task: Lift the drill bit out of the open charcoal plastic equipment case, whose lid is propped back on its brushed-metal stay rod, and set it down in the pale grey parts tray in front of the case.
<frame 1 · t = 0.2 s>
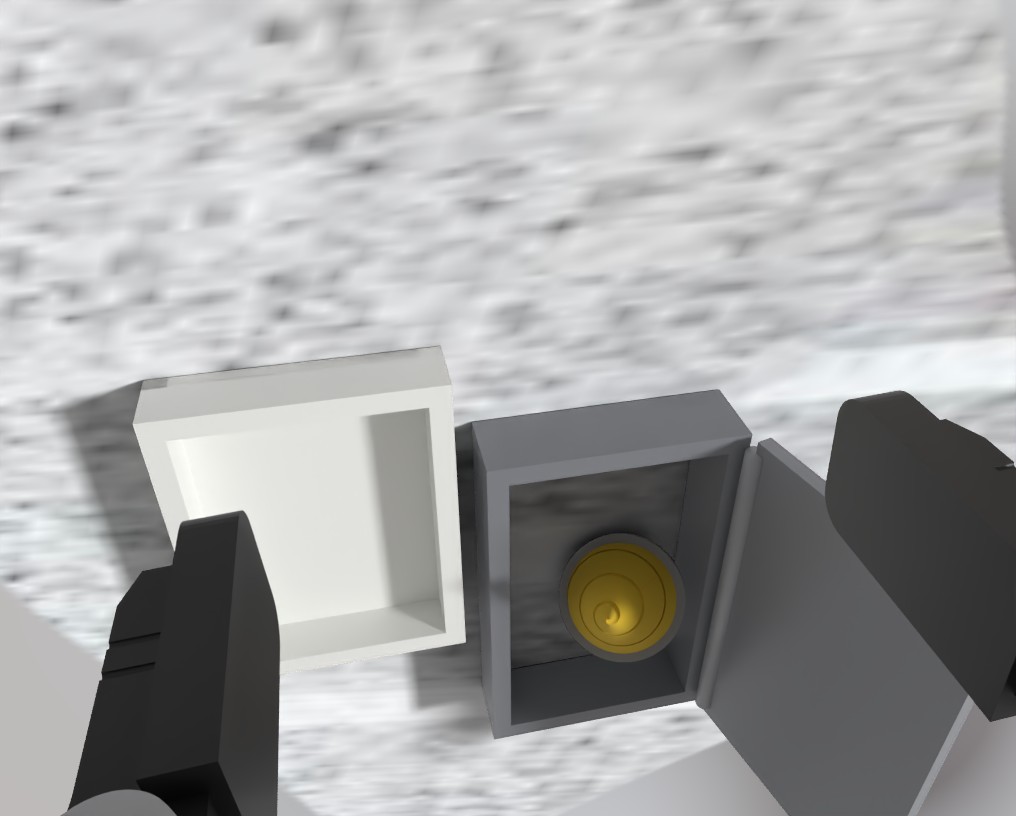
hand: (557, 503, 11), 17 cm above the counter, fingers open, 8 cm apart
drill bit: (587, 548, 38), on the counter
lid: (810, 677, 32), point 8 cm above the counter, hinge at 105.0°
tray: (321, 504, 33), on the counter
case: (588, 552, 38), on the counter
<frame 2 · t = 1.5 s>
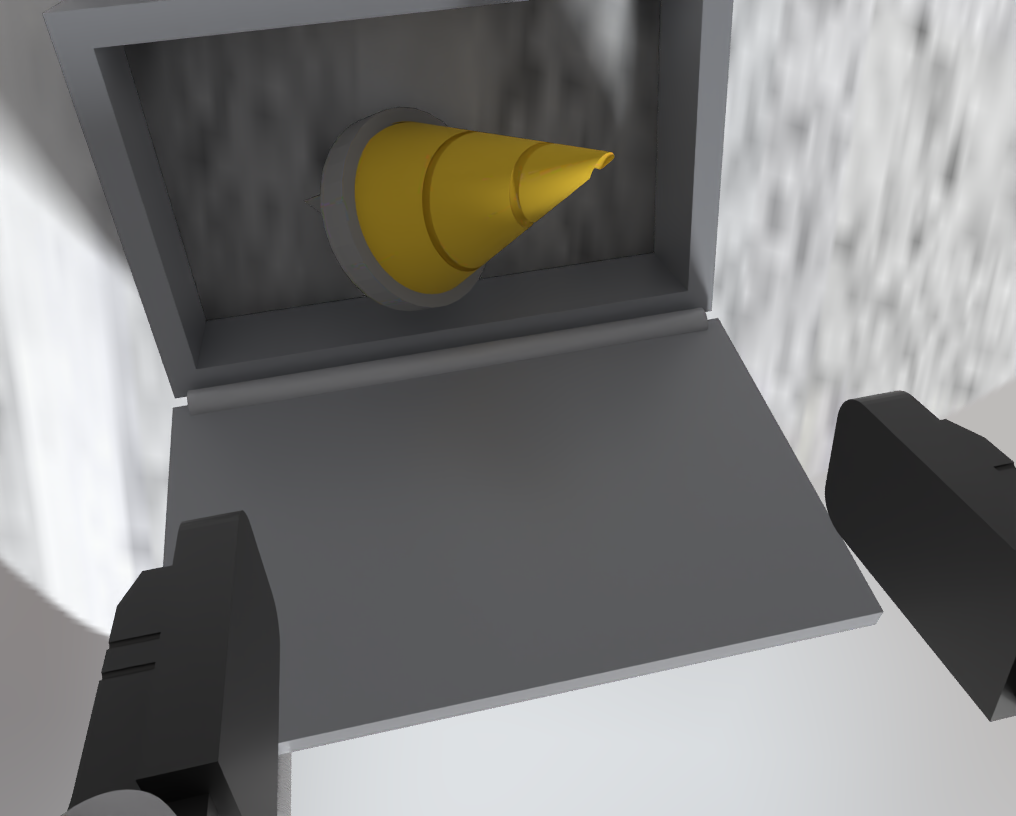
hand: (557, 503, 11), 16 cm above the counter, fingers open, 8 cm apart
stay rod: (279, 439, 29), on the counter
drill bit: (419, 152, 25), on the counter
lid: (489, 495, 22), point 8 cm above the counter, hinge at 105.0°
case: (420, 154, 25), on the counter
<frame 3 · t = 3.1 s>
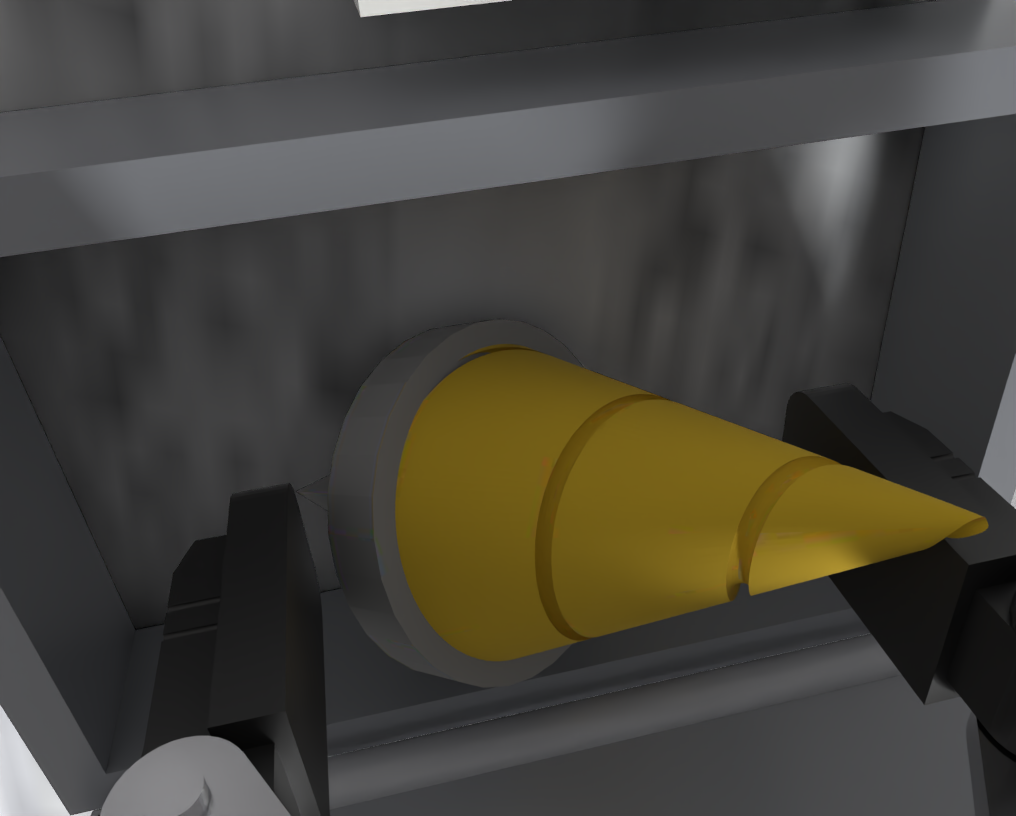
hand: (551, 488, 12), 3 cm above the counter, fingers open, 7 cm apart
drill bit: (496, 364, 14), on the counter, touching gripper
case: (499, 370, 14), on the counter
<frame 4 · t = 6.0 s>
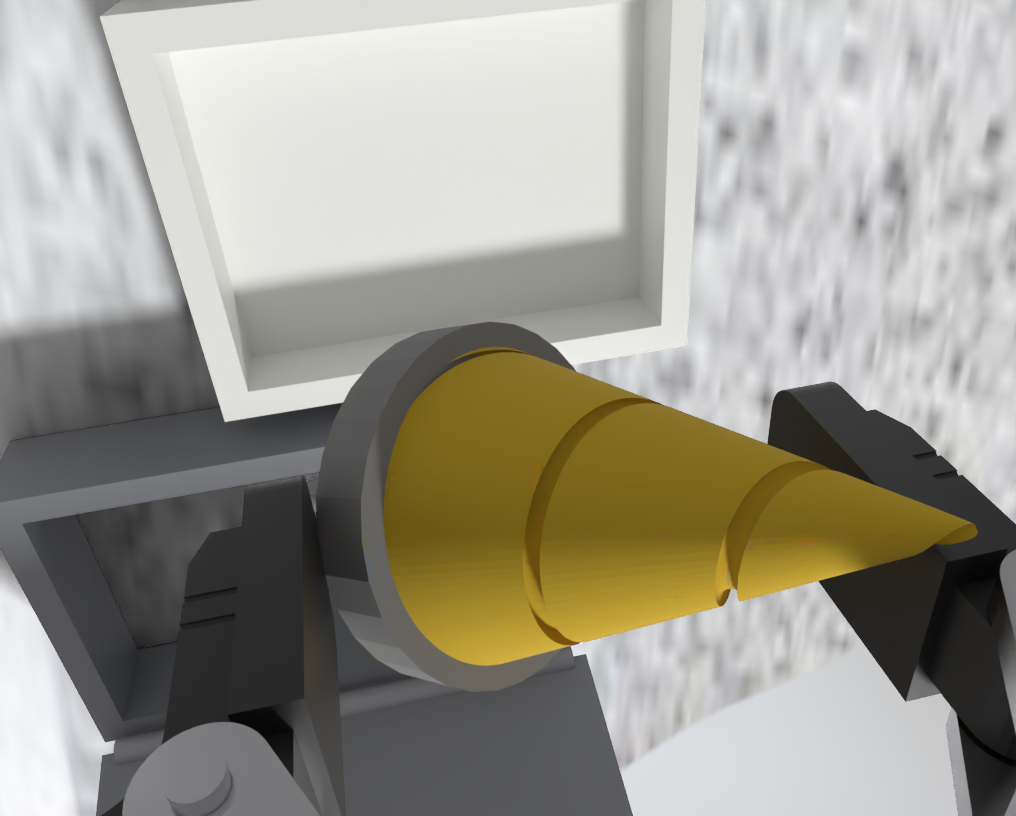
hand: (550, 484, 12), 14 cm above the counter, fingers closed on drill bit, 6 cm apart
drill bit: (488, 366, 14), point 10 cm above the counter, touching gripper
tray: (431, 177, 23), on the counter
case: (322, 521, 28), on the counter
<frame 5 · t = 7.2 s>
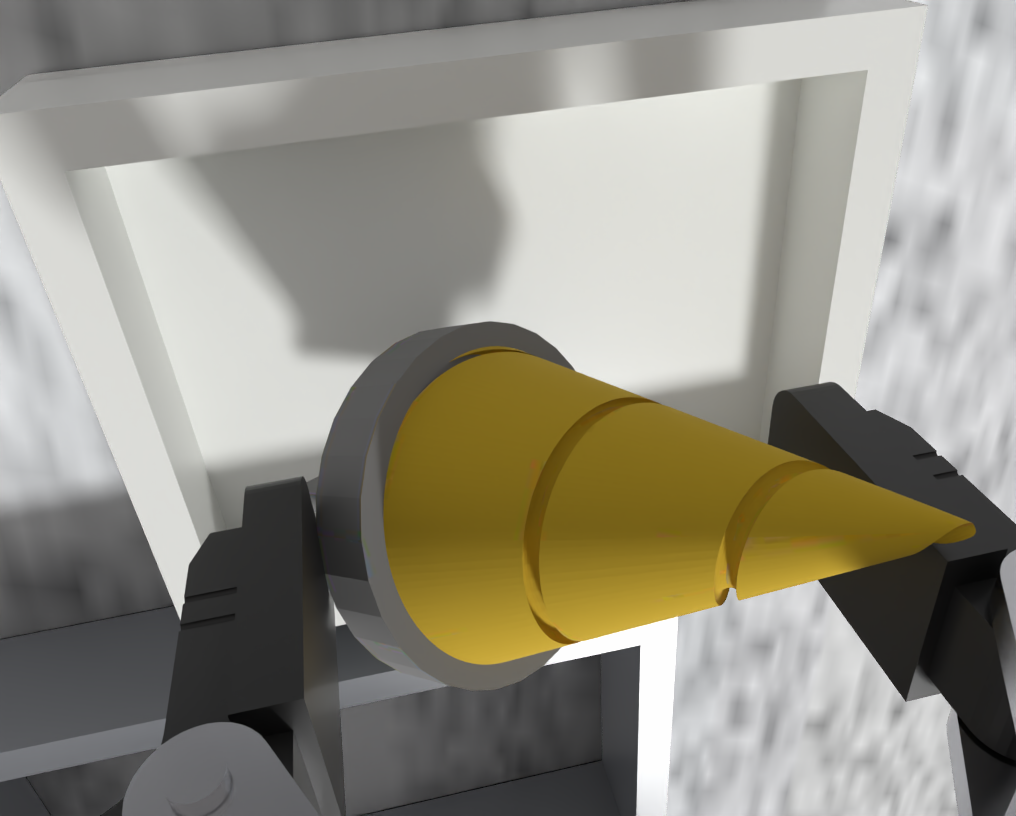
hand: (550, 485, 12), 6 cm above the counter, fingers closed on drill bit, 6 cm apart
drill bit: (488, 366, 14), point 2 cm above the counter, touching gripper
tray: (484, 308, 16), on the counter
case: (329, 724, 22), on the counter
when the fingers open (4 cm above the counter, at t = 8.4 s): drill bit stays where it is, resting on tray.
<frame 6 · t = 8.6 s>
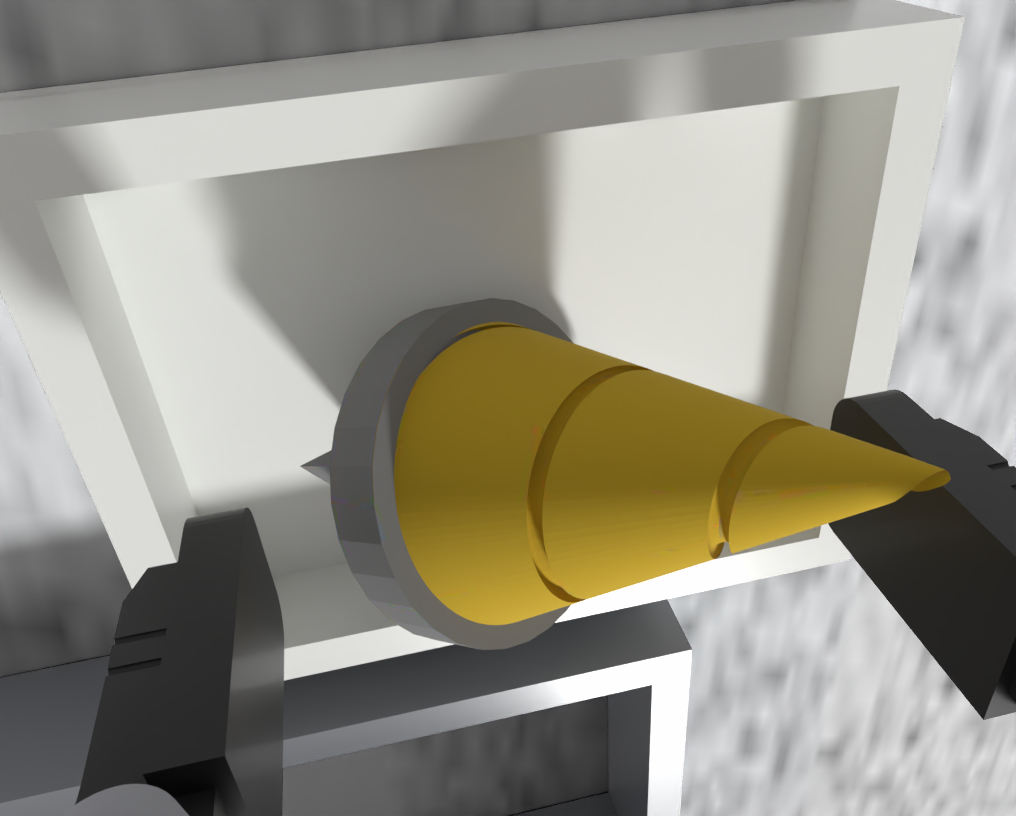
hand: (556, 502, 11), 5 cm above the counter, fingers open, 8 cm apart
drill bit: (491, 343, 15), resting on tray
tray: (488, 334, 15), on the counter
case: (325, 761, 21), on the counter
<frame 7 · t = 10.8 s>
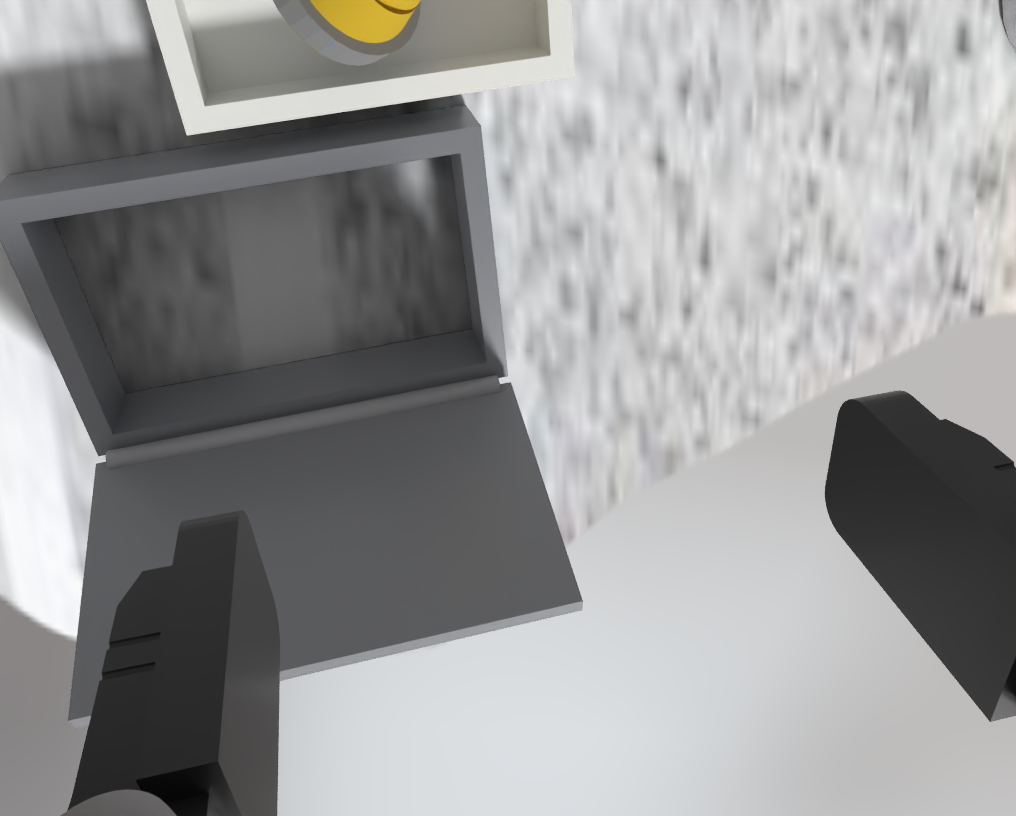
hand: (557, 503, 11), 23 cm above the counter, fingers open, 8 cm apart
lid: (321, 524, 30), point 8 cm above the counter, hinge at 105.0°
case: (279, 267, 33), on the counter
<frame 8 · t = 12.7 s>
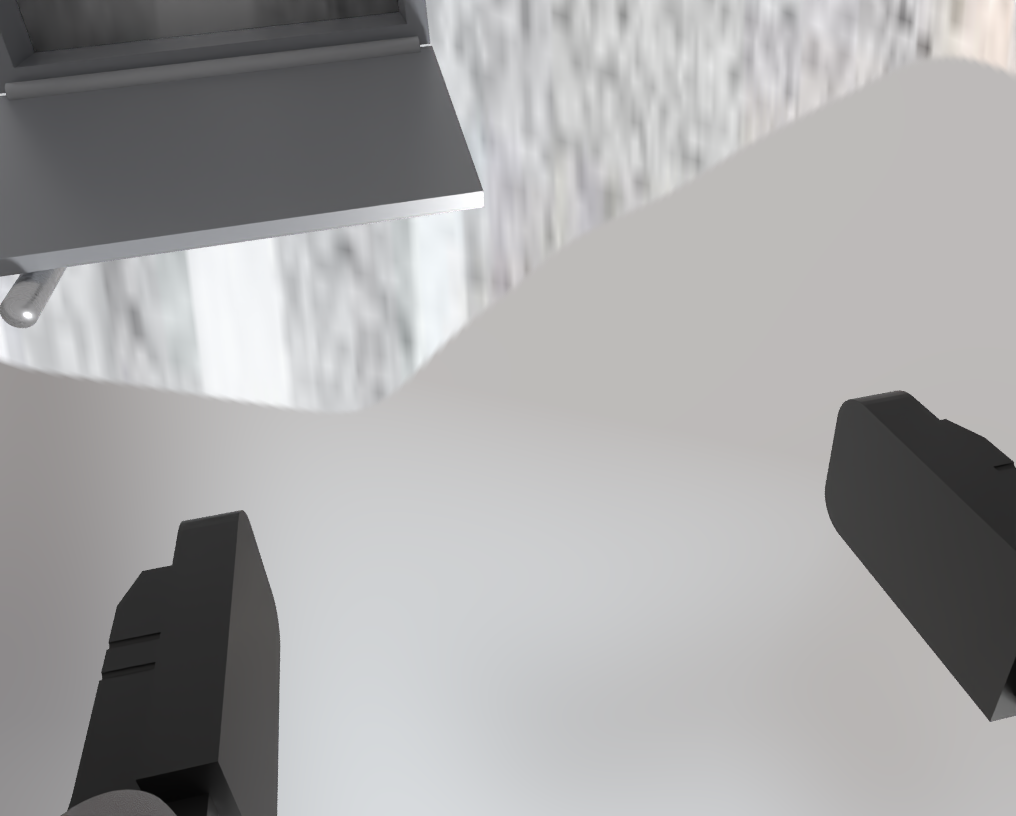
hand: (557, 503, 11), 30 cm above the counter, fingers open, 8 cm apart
stay rod: (106, 167, 36), on the counter
lid: (221, 139, 29), point 8 cm above the counter, hinge at 105.0°
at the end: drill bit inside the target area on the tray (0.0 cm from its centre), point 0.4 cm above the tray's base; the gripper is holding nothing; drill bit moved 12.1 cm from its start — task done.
